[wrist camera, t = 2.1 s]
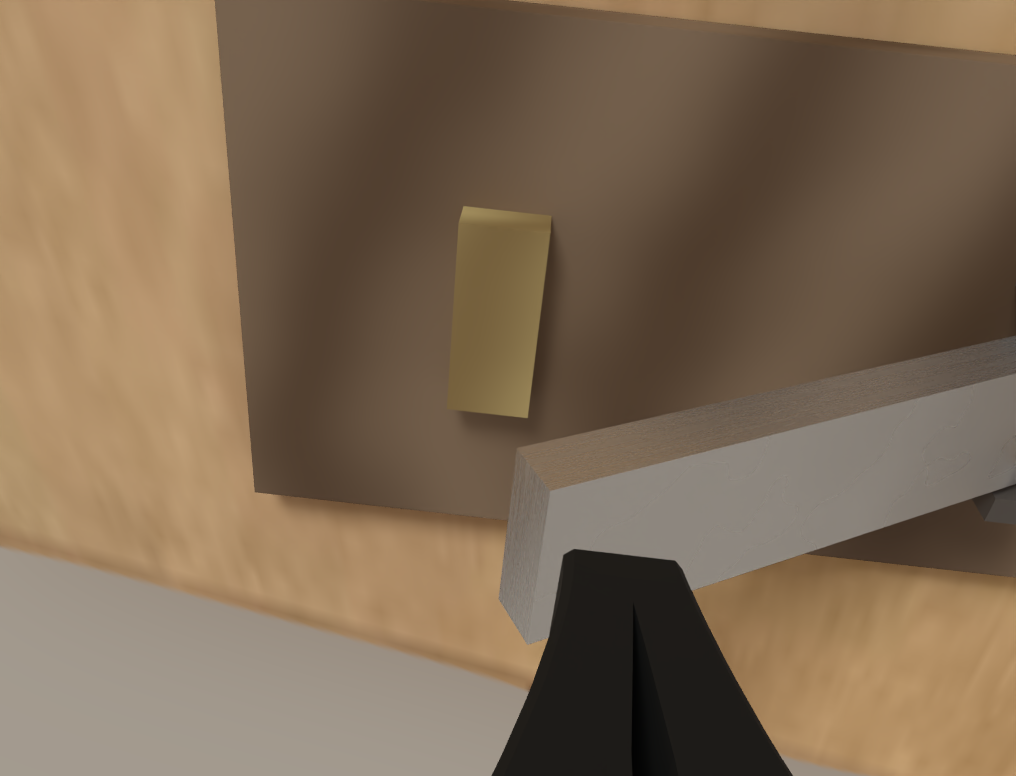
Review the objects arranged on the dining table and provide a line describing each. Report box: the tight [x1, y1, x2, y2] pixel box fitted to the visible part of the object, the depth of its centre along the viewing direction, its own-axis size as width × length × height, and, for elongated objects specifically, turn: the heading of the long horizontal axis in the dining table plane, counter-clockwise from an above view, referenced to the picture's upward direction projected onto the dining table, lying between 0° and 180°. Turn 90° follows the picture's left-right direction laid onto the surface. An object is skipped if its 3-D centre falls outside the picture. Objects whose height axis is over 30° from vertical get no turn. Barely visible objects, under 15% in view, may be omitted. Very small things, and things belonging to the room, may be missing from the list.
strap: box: [499, 336, 1016, 645], centre depth 16 cm, size 13×3×1 cm, turn 85°
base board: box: [215, 0, 1016, 577], centre depth 19 cm, size 20×12×4 cm, turn 85°
